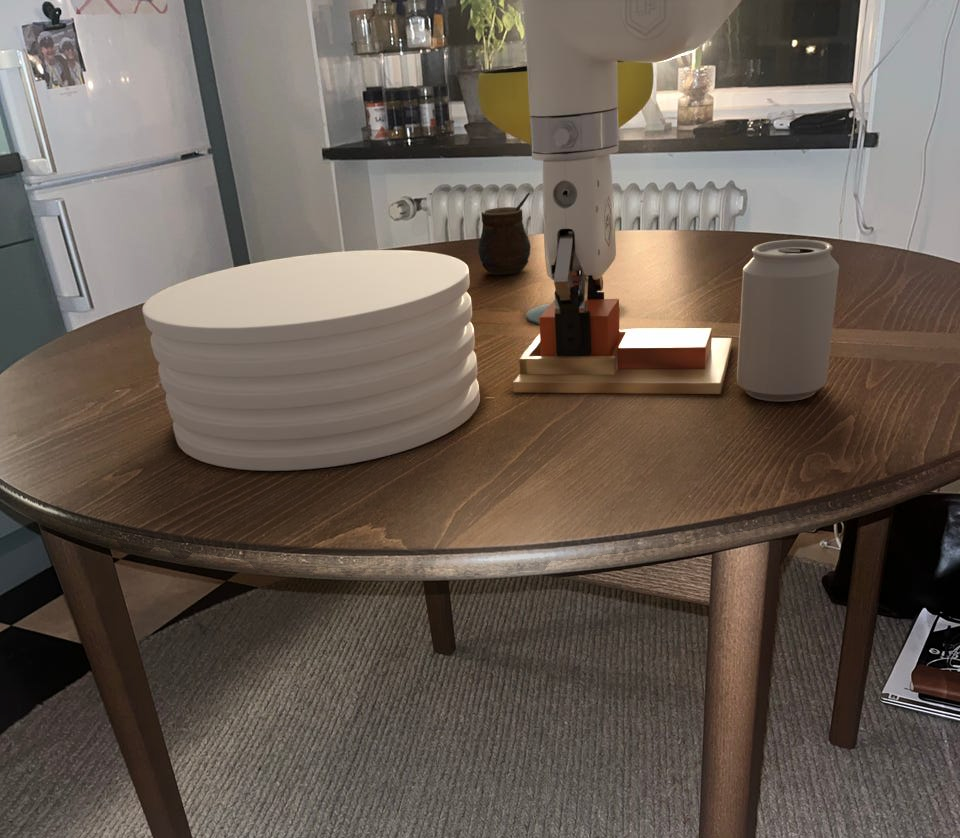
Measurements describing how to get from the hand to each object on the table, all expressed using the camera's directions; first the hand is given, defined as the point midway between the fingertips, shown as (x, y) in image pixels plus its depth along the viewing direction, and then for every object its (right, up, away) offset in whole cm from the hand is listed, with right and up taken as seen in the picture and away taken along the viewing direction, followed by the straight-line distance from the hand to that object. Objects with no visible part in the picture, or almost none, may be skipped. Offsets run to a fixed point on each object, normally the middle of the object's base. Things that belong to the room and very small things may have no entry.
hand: (581, 343), depth 93 cm
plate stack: (-24, -8, -3) cm, 25 cm away
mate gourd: (-6, +23, +42) cm, 48 cm away
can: (+16, -7, -8) cm, 20 cm away
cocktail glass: (+1, +9, +20) cm, 22 cm away
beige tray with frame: (+4, -3, 0) cm, 5 cm away
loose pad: (0, -1, 0) cm, 1 cm away
